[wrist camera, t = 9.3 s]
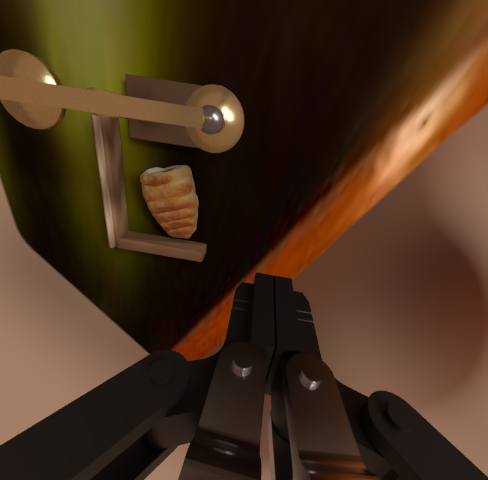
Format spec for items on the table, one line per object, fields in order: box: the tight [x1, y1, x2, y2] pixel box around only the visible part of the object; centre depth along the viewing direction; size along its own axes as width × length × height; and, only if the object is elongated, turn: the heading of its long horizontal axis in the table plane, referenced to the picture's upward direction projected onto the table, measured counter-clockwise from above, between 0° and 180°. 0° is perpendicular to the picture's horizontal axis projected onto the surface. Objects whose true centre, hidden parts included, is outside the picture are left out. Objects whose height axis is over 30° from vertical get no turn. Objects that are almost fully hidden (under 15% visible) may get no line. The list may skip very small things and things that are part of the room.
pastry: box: [140, 165, 198, 239], centre depth 29 cm, size 9×7×4 cm
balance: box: [0, 49, 244, 153], centre depth 19 cm, size 19×6×14 cm, turn 82°
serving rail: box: [91, 113, 207, 262], centre depth 28 cm, size 16×13×3 cm
